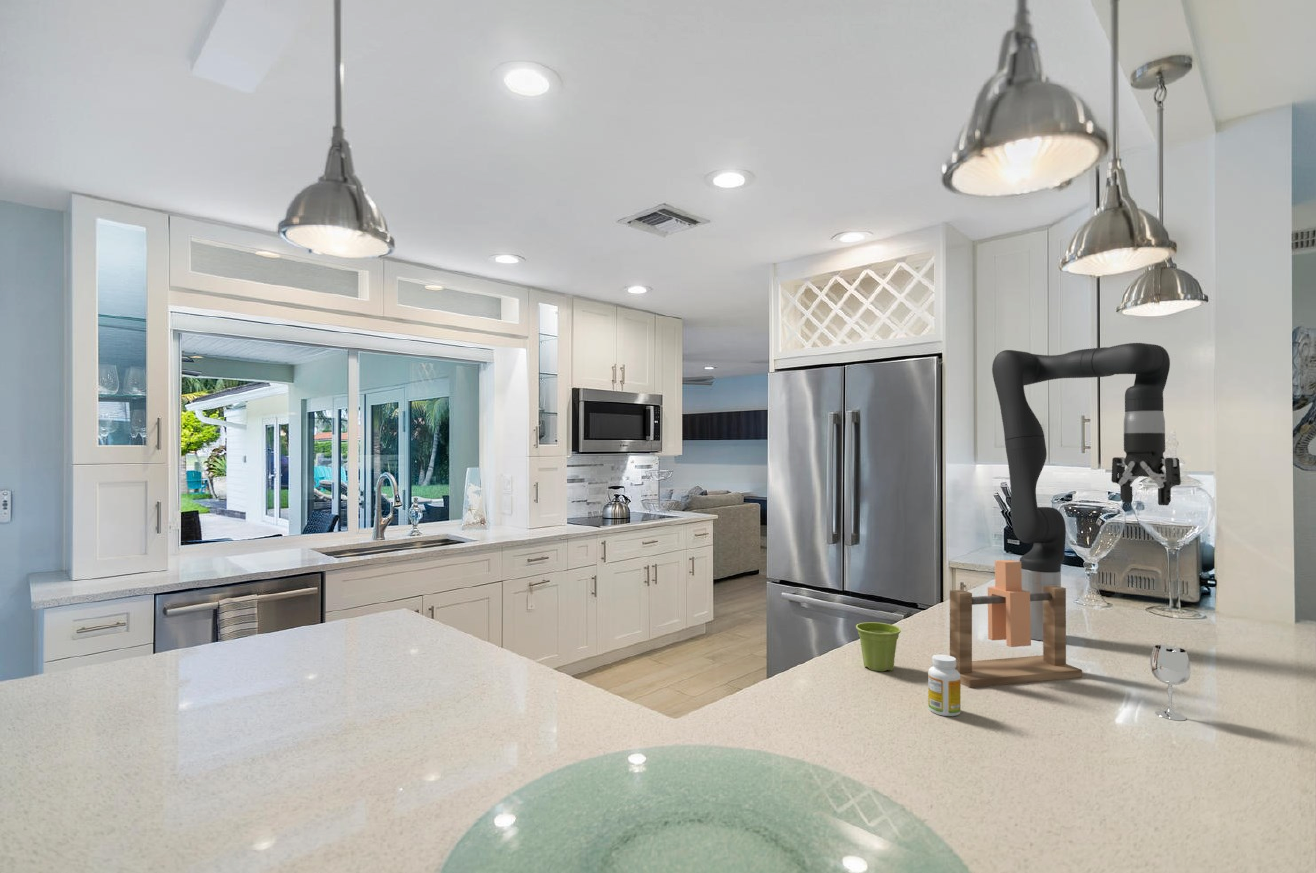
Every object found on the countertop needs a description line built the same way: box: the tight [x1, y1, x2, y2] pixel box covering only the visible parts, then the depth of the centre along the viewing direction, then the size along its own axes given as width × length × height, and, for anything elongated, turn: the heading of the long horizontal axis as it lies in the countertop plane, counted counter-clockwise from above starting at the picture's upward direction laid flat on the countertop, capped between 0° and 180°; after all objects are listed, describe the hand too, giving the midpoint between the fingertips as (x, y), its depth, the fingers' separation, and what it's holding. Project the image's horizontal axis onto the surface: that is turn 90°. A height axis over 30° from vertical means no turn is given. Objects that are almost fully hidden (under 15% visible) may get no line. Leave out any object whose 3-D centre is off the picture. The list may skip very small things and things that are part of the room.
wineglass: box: [1149, 644, 1192, 721], centre depth 118 cm, size 6×6×12 cm
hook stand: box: [949, 585, 1083, 689], centre depth 139 cm, size 10×28×18 cm, turn 104°
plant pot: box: [855, 621, 902, 672], centre depth 143 cm, size 9×9×9 cm
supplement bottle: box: [927, 654, 962, 717], centre depth 119 cm, size 5×5×10 cm
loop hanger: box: [987, 559, 1032, 648], centre depth 139 cm, size 6×5×17 cm
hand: (1144, 503), depth 147 cm, fingers open, 8 cm apart
